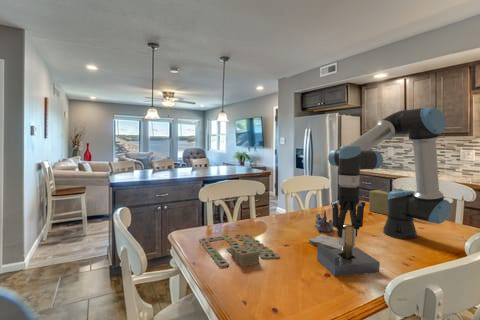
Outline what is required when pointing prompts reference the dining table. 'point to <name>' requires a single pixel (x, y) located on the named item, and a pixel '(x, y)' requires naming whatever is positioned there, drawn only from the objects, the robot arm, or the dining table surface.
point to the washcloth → (326, 241)
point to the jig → (346, 261)
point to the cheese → (378, 202)
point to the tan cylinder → (347, 241)
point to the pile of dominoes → (240, 250)
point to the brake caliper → (323, 223)
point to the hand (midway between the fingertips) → (346, 244)
